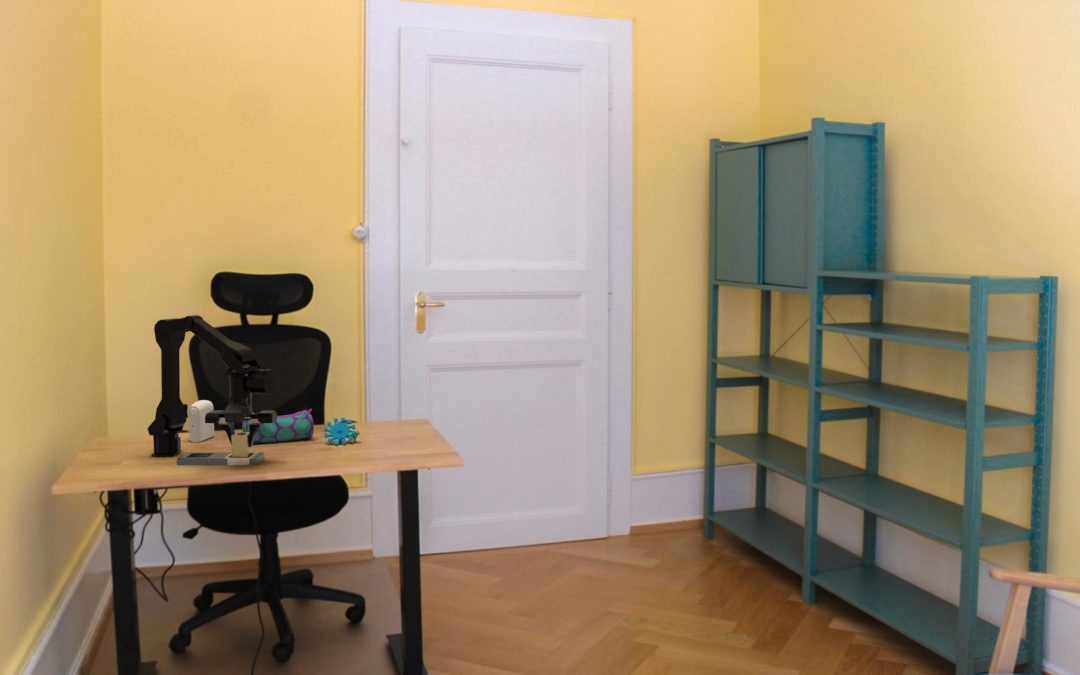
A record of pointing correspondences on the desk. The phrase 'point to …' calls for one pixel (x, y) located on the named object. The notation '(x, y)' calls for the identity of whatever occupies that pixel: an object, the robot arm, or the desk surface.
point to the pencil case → (284, 428)
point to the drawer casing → (218, 458)
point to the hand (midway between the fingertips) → (242, 447)
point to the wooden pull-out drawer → (241, 445)
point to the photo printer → (200, 421)
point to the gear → (340, 431)
